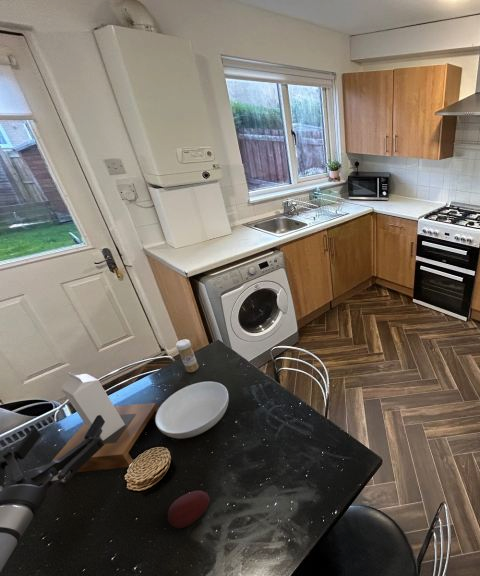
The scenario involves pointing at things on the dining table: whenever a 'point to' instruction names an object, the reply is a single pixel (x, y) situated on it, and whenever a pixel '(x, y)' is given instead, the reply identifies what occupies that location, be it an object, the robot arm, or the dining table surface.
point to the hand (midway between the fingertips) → (69, 424)
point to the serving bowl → (192, 410)
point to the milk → (92, 402)
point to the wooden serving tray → (115, 438)
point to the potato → (188, 509)
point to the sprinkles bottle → (187, 355)
